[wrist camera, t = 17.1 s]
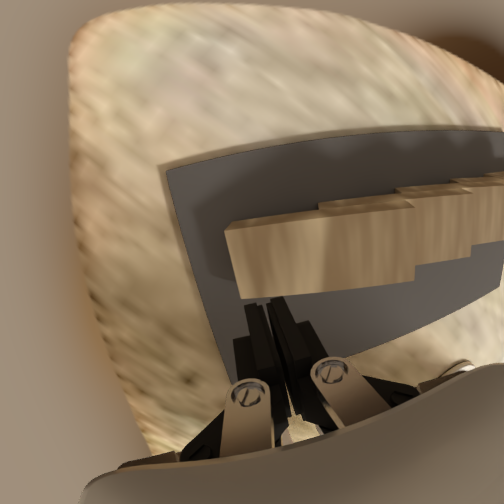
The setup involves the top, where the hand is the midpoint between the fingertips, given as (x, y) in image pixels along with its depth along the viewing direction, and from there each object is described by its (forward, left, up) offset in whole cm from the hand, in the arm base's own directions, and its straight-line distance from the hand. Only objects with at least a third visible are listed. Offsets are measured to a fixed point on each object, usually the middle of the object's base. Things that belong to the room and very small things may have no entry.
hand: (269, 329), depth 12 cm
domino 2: (0, -6, -8) cm, 10 cm away
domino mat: (-3, -14, -10) cm, 18 cm away
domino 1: (0, +1, -8) cm, 9 cm away
